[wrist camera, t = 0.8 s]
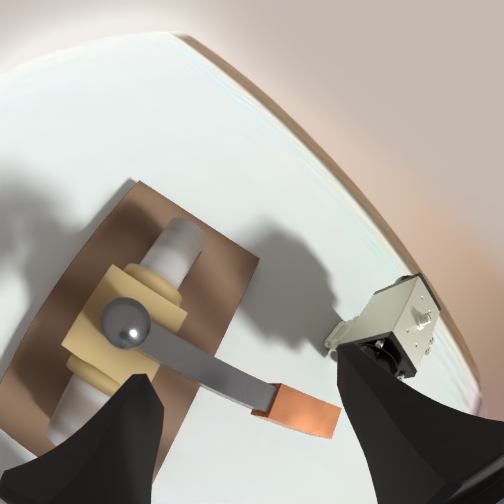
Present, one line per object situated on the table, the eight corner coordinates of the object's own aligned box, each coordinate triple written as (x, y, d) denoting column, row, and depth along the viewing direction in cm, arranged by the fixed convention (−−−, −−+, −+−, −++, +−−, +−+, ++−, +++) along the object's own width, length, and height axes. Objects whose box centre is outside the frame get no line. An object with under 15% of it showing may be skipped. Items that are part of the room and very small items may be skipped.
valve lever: (94, 334, 14) (91, 328, 12) (117, 297, 15) (117, 286, 13) (309, 437, 16) (330, 441, 15) (321, 404, 18) (342, 405, 16)
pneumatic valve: (295, 364, 26) (393, 347, 17) (351, 296, 33) (432, 260, 24) (325, 400, 26) (424, 395, 16) (374, 329, 33) (455, 302, 23)
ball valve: (138, 504, 15) (150, 547, 9) (-8, 414, 12) (-48, 425, 6) (254, 263, 29) (295, 230, 23) (138, 187, 26) (150, 135, 20)
